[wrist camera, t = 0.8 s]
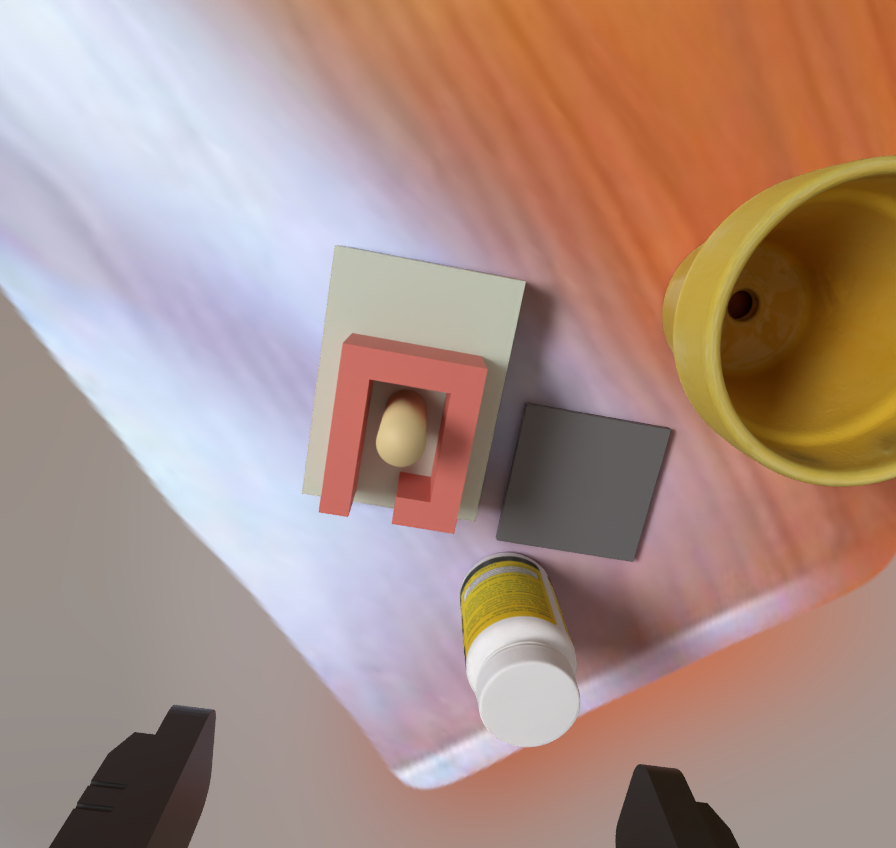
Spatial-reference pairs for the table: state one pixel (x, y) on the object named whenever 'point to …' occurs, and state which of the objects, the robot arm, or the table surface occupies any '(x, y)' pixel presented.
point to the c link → (463, 384)
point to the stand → (423, 323)
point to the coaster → (581, 482)
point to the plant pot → (798, 326)
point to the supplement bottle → (518, 651)
